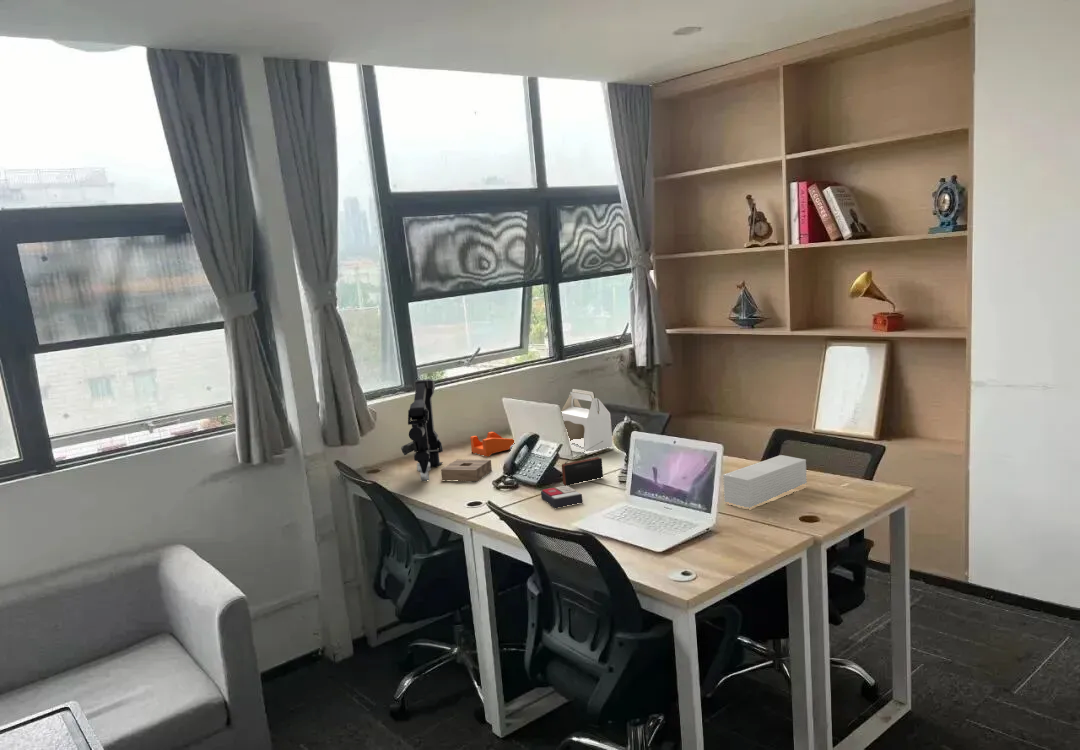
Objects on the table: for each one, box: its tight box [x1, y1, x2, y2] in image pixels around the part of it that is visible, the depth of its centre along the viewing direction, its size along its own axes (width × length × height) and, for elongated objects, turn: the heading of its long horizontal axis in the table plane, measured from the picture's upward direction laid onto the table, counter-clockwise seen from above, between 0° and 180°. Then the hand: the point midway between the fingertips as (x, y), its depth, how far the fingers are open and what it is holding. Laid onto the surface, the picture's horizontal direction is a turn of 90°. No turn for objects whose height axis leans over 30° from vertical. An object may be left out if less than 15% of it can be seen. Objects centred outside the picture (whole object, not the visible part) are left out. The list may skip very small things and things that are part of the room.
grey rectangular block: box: [722, 454, 808, 508], centre depth 272 cm, size 32×11×11 cm, turn 127°
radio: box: [561, 441, 604, 486], centre depth 307 cm, size 19×3×15 cm, turn 114°
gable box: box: [560, 388, 614, 451], centre depth 357 cm, size 22×13×28 cm, turn 34°
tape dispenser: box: [469, 431, 514, 457], centre depth 370 cm, size 18×13×8 cm
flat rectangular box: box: [540, 485, 583, 509], centre depth 286 cm, size 11×4×15 cm
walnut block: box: [440, 458, 492, 482], centre depth 330 cm, size 16×16×5 cm
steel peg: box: [416, 462, 432, 482], centre depth 328 cm, size 6×6×8 cm
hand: (424, 471), depth 328 cm, fingers closed on steel peg, 6 cm apart
